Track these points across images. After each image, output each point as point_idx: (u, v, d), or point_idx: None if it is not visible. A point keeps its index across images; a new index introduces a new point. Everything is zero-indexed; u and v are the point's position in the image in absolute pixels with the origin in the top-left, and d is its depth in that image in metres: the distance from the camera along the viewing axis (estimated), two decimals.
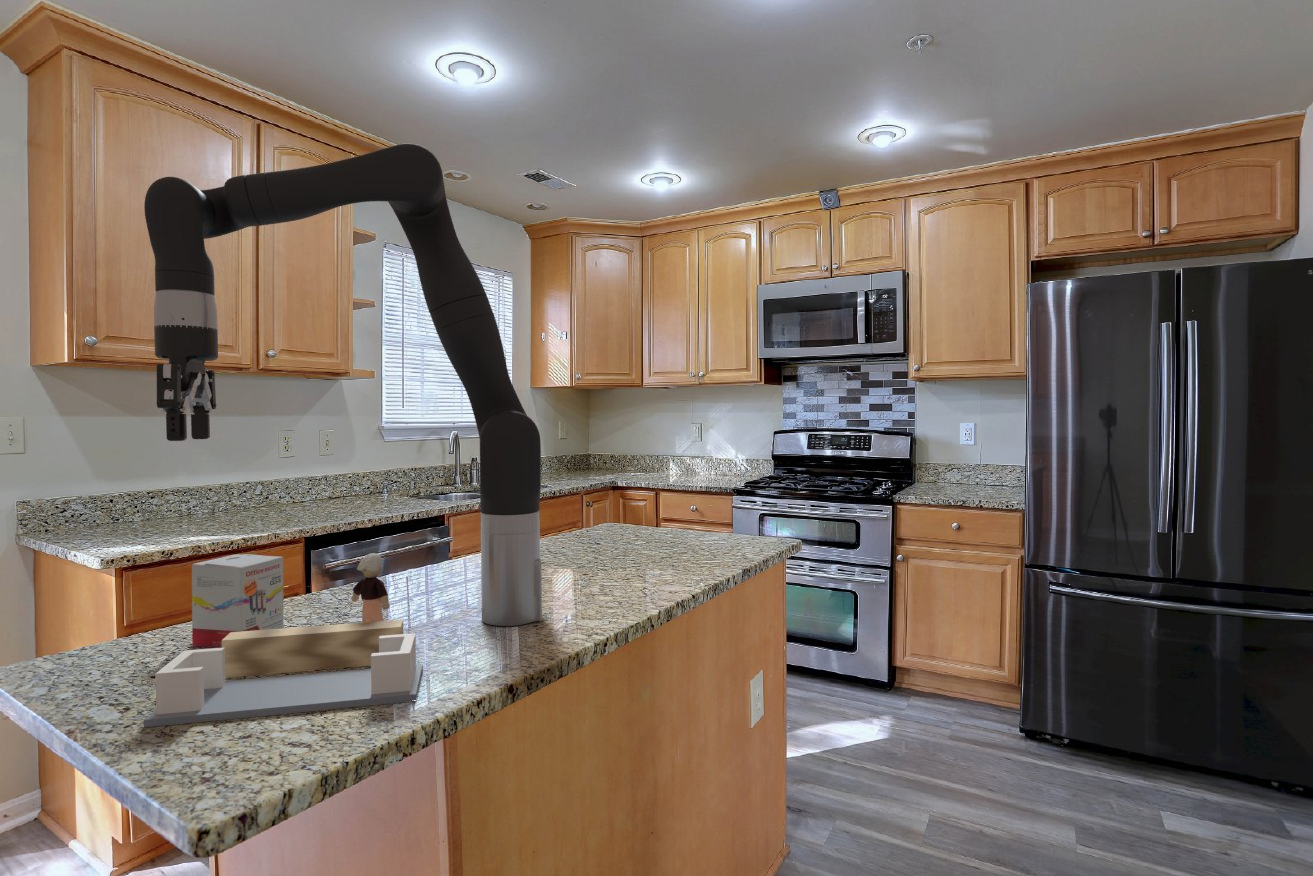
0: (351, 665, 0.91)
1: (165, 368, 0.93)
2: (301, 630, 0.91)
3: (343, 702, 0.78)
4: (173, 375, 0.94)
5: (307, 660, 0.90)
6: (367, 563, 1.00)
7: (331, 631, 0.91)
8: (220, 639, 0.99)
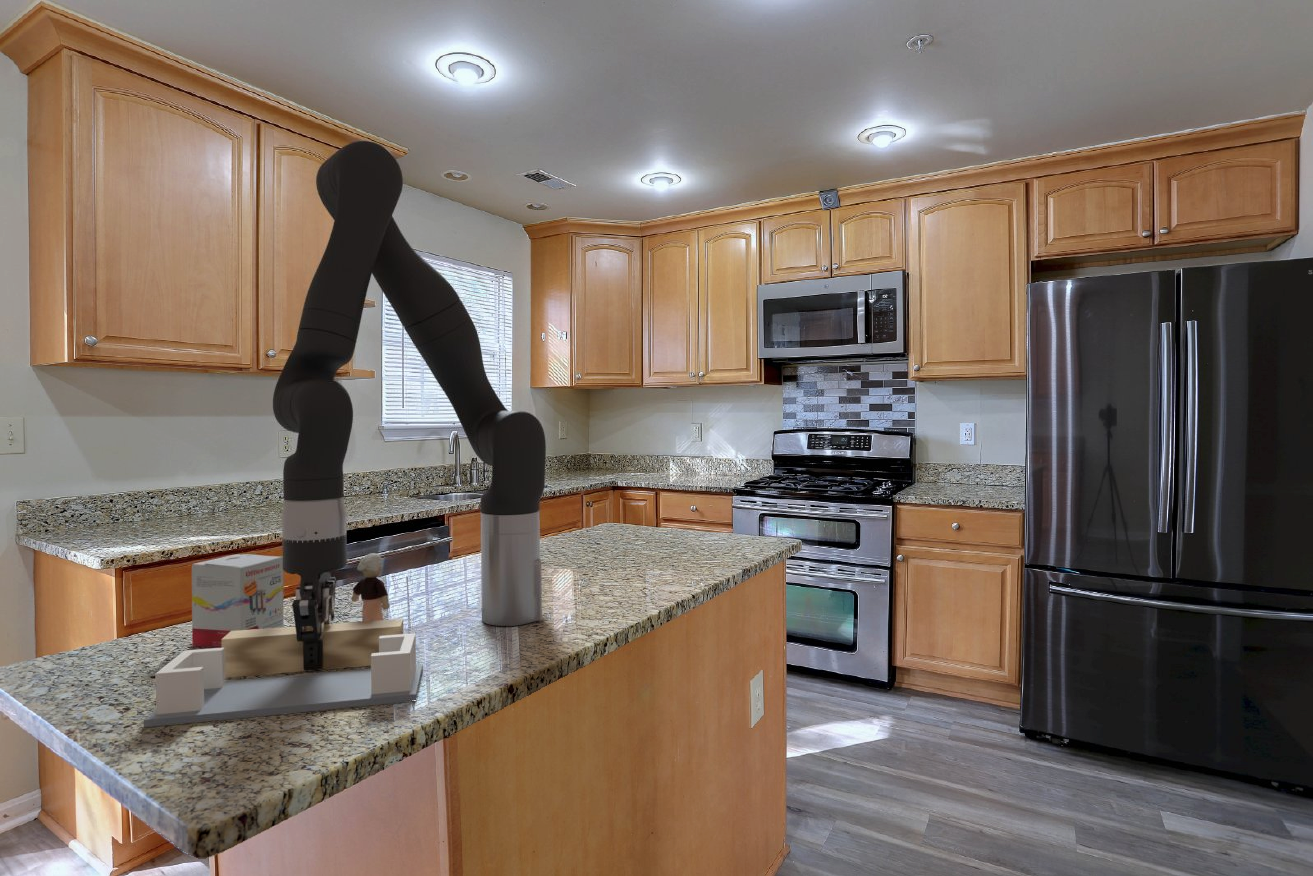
0: (351, 664, 0.91)
1: (302, 607, 0.85)
2: None
3: (343, 702, 0.78)
4: (311, 613, 0.86)
5: None
6: (367, 563, 1.00)
7: (331, 630, 0.91)
8: (220, 639, 0.99)
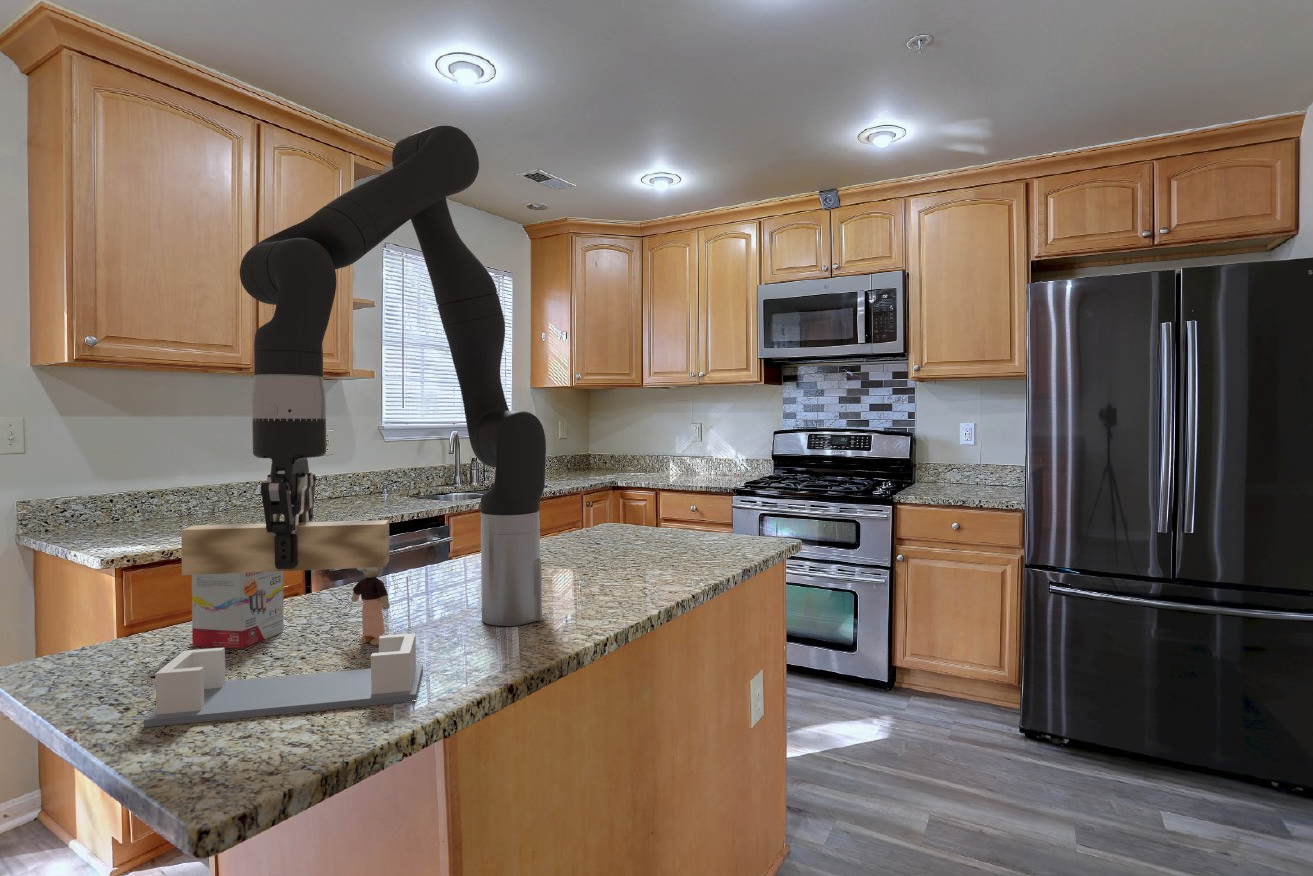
0: (328, 565, 0.81)
1: (271, 491, 0.75)
2: None
3: (343, 702, 0.78)
4: (282, 498, 0.75)
5: None
6: None
7: (306, 525, 0.80)
8: (220, 639, 0.99)
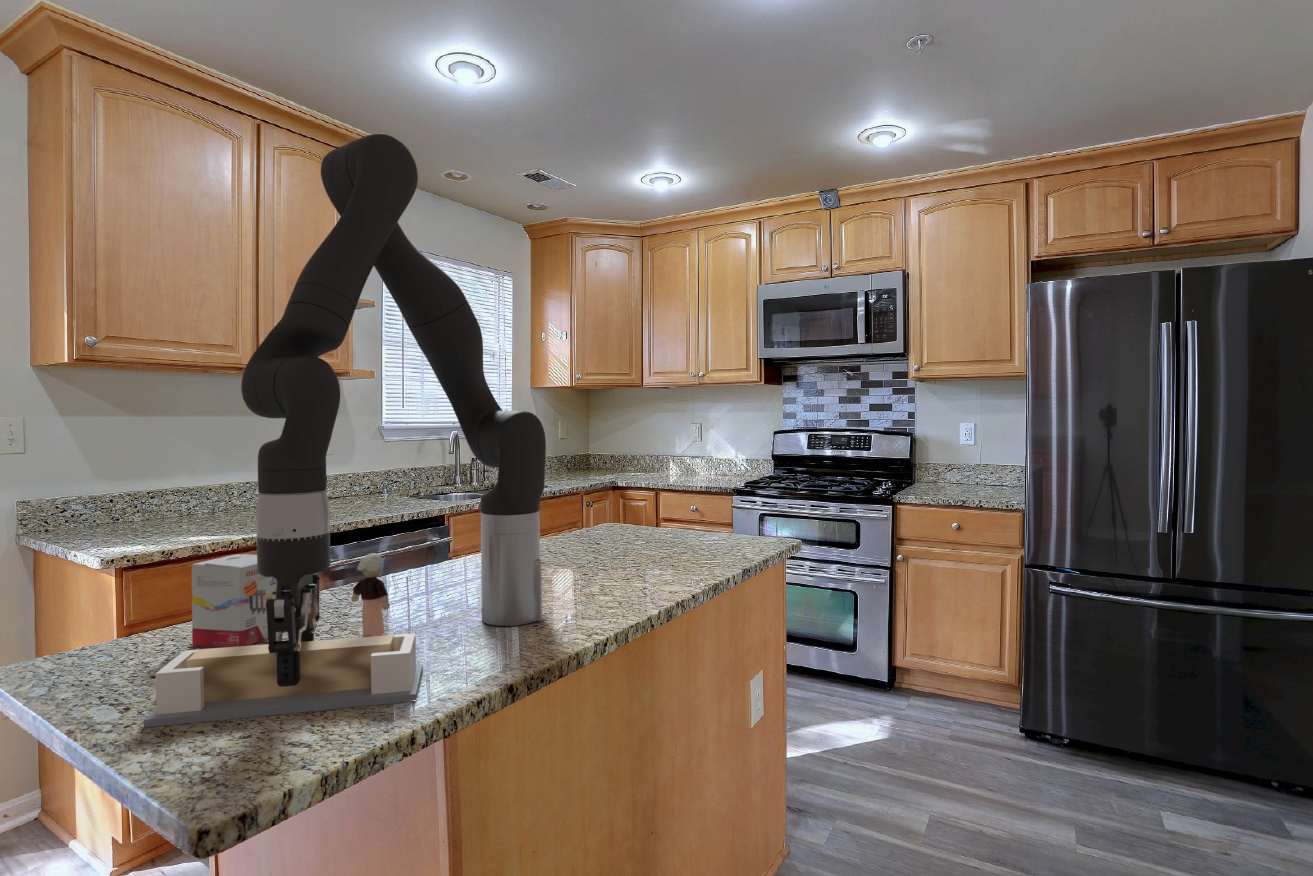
0: (334, 687, 0.81)
1: (277, 607, 0.75)
2: None
3: (343, 702, 0.78)
4: (287, 615, 0.75)
5: None
6: (367, 563, 1.00)
7: (312, 648, 0.81)
8: (220, 639, 0.99)
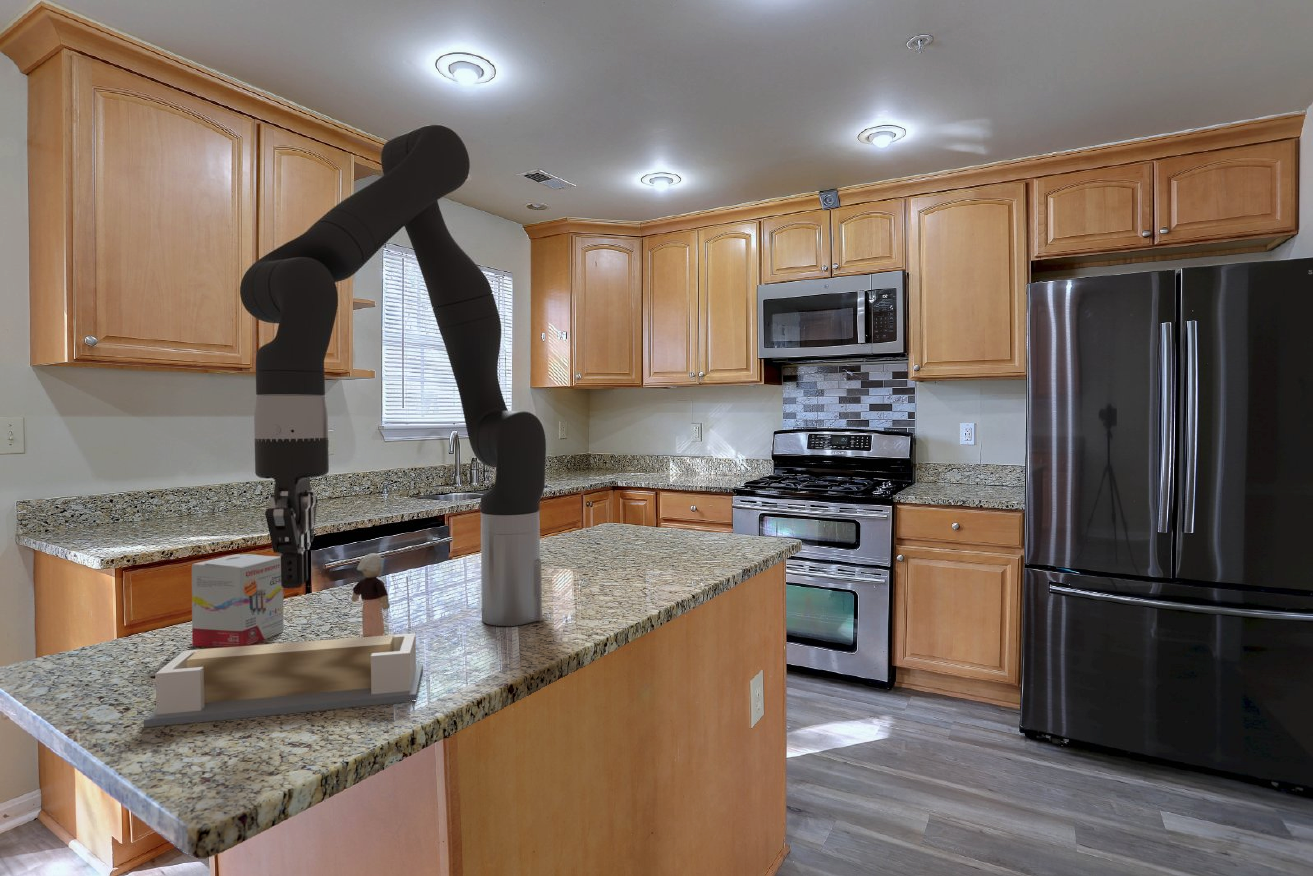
0: (334, 687, 0.81)
1: (276, 517, 0.75)
2: (278, 647, 0.81)
3: (343, 702, 0.78)
4: (287, 524, 0.76)
5: (284, 682, 0.80)
6: (367, 563, 1.00)
7: (312, 648, 0.81)
8: (220, 639, 0.99)
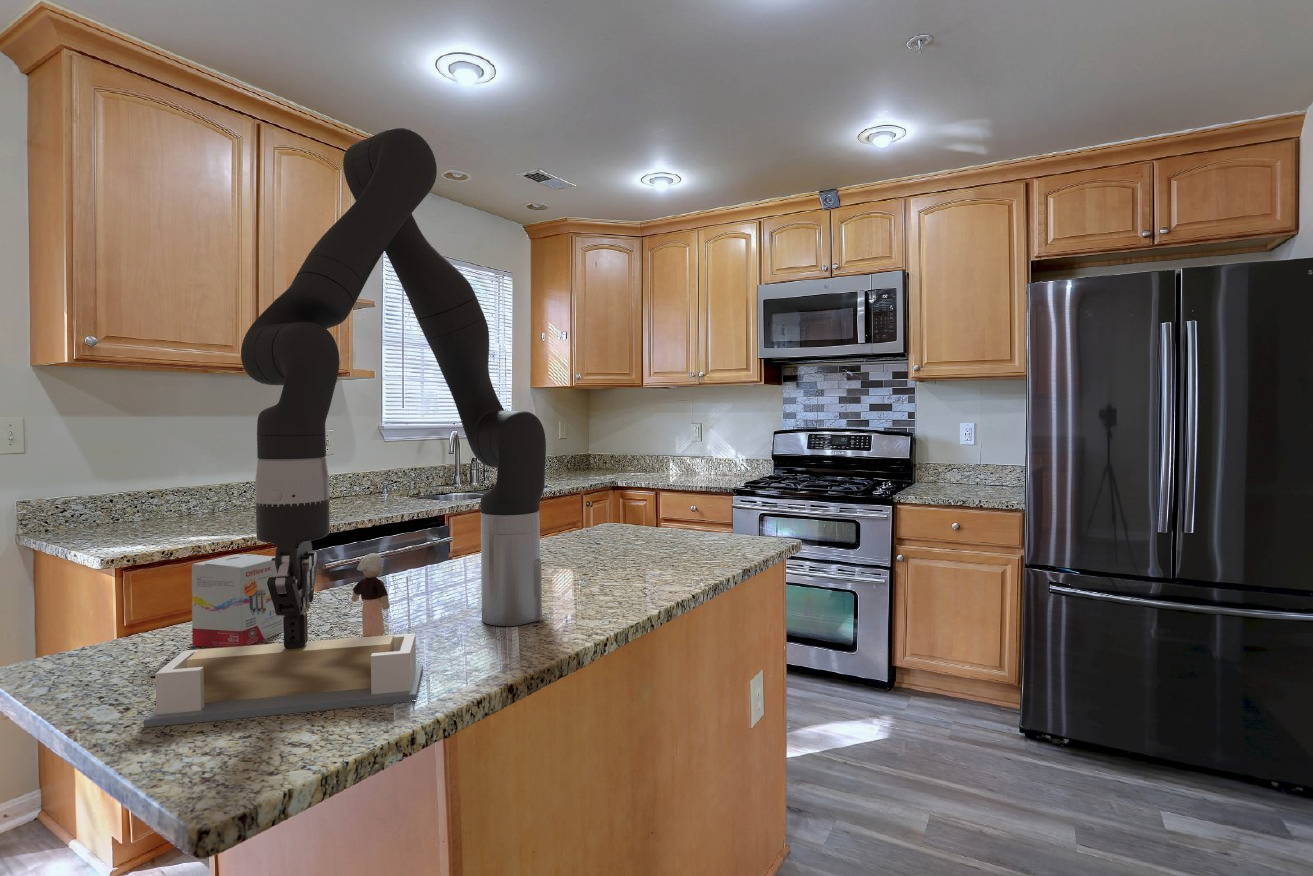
0: (334, 687, 0.81)
1: (278, 587, 0.75)
2: (278, 647, 0.81)
3: (343, 702, 0.78)
4: (289, 592, 0.76)
5: (284, 682, 0.80)
6: (367, 563, 1.00)
7: (312, 648, 0.81)
8: (220, 639, 0.99)
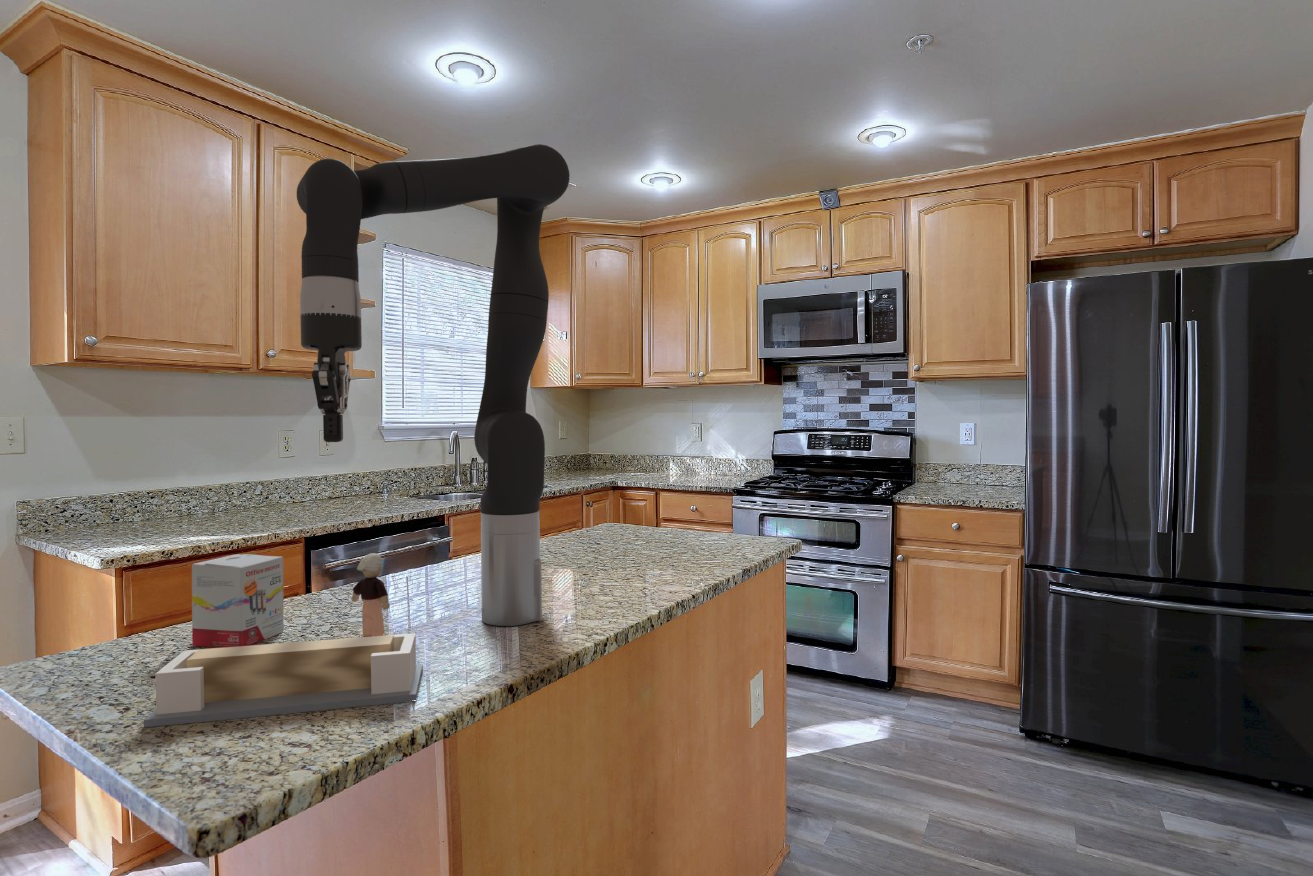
0: (334, 687, 0.81)
1: (321, 378, 0.90)
2: (278, 647, 0.81)
3: (343, 702, 0.78)
4: (330, 384, 0.91)
5: (284, 682, 0.80)
6: (367, 563, 1.00)
7: (312, 648, 0.81)
8: (220, 639, 0.99)
